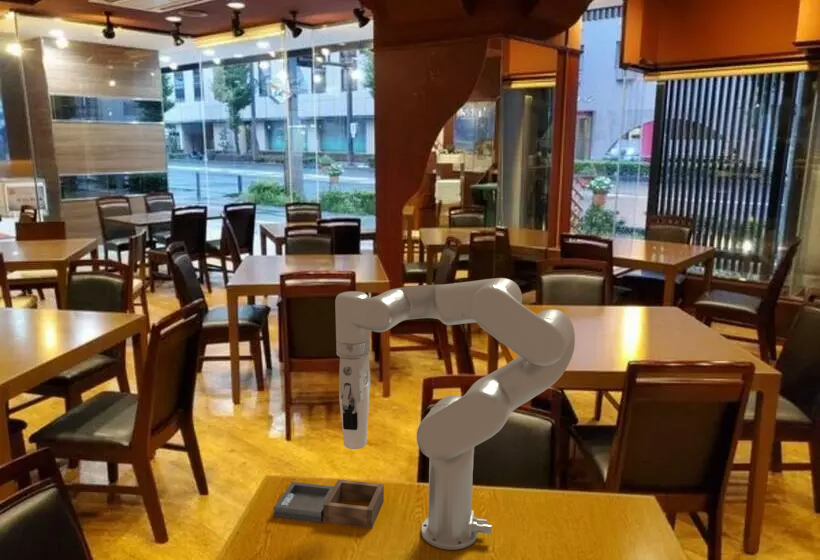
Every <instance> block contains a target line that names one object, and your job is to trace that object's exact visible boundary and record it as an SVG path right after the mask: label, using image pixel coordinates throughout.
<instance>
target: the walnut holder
mask: <svg viewBox="0 0 820 560" xmlns="http://www.w3.org/2000/svg"><path fill="white" fill-rule="evenodd" d="M384 490H385V486H384V484H382V483H376V482H375V483H373V482H365V481H355V480H348V479H347V480H345V479H338V480H337V481H336V482H335V484H334V488H333V489H332V491H331V493H330V494H329V496H328V498H327V499H326V501H325V503H324V505H323V511H324V518H323V524H332V525H339V524H340V525H341V526H347V525H349V526H350V527H355V528H356V527H358V528H366V529H373V528H374V525H375V523H376V520H377V518H378V516H379V513H380V511H381V509H382V507H383V505H384V502H385V501H384V500H385V497H384V495H385V494H384V493H385V491H384ZM342 499H343V500H345V501H351V502H352V500H353V502H362V503H369V505H368V506H364V505H356V504H355V505H353V504H349V503H348V504H345V503H341V502H342ZM349 526H348V527H349Z"/></svg>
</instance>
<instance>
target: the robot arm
mask: <svg viewBox="0 0 820 560" xmlns="http://www.w3.org/2000/svg"><path fill="white" fill-rule="evenodd" d="M334 301H335V302H334V306H335V307H334V309H335V310H334V311H335V339H336V340H335V343H336V344H335V345H336V348H335V349H336V355H337V357H339V366H338V367H339V370H338V371H339V375H338V376H339V377H338V380H339V381H338V385H339V386H338V388H339V389H338V394H339V393H340V399H341V400H342V407H343V428H342V430H343V429H347V430H357V428H358V421H357V412H356V404H357V403H356V402H357V401H358V402H360V401H361V400H362V399H363V398H364V386H365V385H367V382H368V383H369V390H370V389H371V387H372V385H371V381H372V380H371V366H370V355H371V332H375V333H384V332H387V331H389V330H390V329H392V328H393V327H395V326H397V325H398V324H399V323H402V322H403V321H407V320H408V321H409V320H417V319H418V320H419V319H437V320H439V321H440V322H441V323H442V324H444V325H446V326H454V325H462V324H472V323H474V324H475V323H476V324H477V325H478V326H479V327H480V328H481V329H483V330H484V331H485V332H486V333H488V334H489V335H490V336H491V337H492V338H494V339H495V340H496V341H498V342H499V343H501V344H503V345H504V346H505V347H506V348H509V349H510V350H511V351H513V352H514V353H515V354H517V355H518V356H517V357H515V358H514V359H512V360H511V361H509V362H508V363H507V364H505V365H502V366H501V367H499V368H498V369H496V370H494V371H492V372H490V373H489V374H486V375H484V376H483V377H481V378H479V379H478V380H476V381H475V382H474V383H473V384H472V385H471V386H470V388H469V389H468V390H467V392H466V393H465V394H464V395H463V396H462V395H456V394H455V395H454V394H452V395H448V396H445V397H443V398H442V399H440V400H438V401H437V403H435V405H434V406H433V407H432V408H431V409H430V411H429V412H427V414H426V415H425V417H424V418H423V419H422V420H421V422H420V424H419V425H418V428H417V429H416V430H417V431H416V443H417V446H418V448H419V450H420V452H421V453H422V454H423V455H424V456H426V457H427V458H428V459H429V465H428V466H429V467H428V475H429V476H428V517H427V518H426V519H424V521H423V522H422V524H421V526H420V528H421V529H420V533H421V536H422V538H423V540H424V541H425V542H426V543H428V544H429V545H431V546H433V547H435V548H438V549H443V550H448V551H455V550H461V549H464V548H467V547H470V546H471V545H473V544H474V543H475V542H476V541H477V538H478V536H479V533H481V534H486V535H492V527H493V525H492V524H487V523H488V520H487V518H477V516H475V514H474V513H475V511H474V509H472V507H473V503H472V502H473V482H474V481H473V477H474V476H473V474H474V472H473V471H474V456H475V447H476V446H478V445H481V444H482V443H484V442H486V441H487V440H489V439H491V438H493V436H495V435H496V434H497V433H499V432H500V431H501V430H502V429H503V427H504V426H505V424H506V422H507V421H508V419H509V418H510V415H511V414H512V413H513V412H514V411H515V410H516V409H518V408H519V407H521V406H522V405H524V404H526V403H528V402H529V401H531V400H533V399H534V398H535V397H537V396H539V395H541V394H542V393H543V392H545V391H546V390H548V389H549V388H550V387H552V386H553V385H554V384H555V383H556V382H557V381H558V380H559V379H560V378H561V377H562V376H563V375H564V373H565V371H566V370H567V368H568V366H569V364H570V363H571V360H572V357H573V354H574V351H575V346H576V345H575V343H576V338H575V336H576V335H575V329H574V325H573V322H572V320H571V319H570V317H569V316H568V315H567V314H566V313H564V312H563V311H561V310H558V309H546V310H541V311H540V312H538V313H535V312H533V310H531V309H529V308H528V307H526V306H525V305H524V304H523V294H522V291H521V289H520V286H519V285H518V284H517V283H516V282H515V281H513V280H511V279H509V278H506V277H496V278H485V279H479V280H471V281H464V282H463V281H462V282H454V283H446V284H425V285H424V284H423V285H413V286H403V287H397V288H392V289H389V290H387V291H386V290H385V291H384V292H382V293H380V294H378V295H376V296H372V297H369V295H368V294H366V292H363V291H355V290H354V291H353V290H351V291H350V290H349V291H344V292H340V293H338V294H337V295H336V297H335V300H334ZM342 395H343V396H342ZM350 395H353V398H354V399H350ZM349 402H353V407H352V406H351V405H349V404H350V403H349Z"/></svg>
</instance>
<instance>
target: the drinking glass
mask: <svg viewBox="0 0 820 560" xmlns="http://www.w3.org/2000/svg"><path fill="white" fill-rule="evenodd" d="M338 395H339V397H338V399H339V401H338V402H339V409H340V417H341V429H342V435H343V436H342V437H343V438H342V441H343V446H344V447H345V448H347V449H349V450H359V449H363V448H364V447H365V446H366V445H367V444H368V423H369V422H368V421H369V409H370V408H369V407H370V389H369V383H368V382H367V385H365V386H364V398H363V399H362V400H361V401H360V402H358V401H357V402H356V403H357V404H356V412H357V421H358V428H357V430H347V429H343V407H342V400H341V399H340V393H339V392H338ZM342 396H343V395H342ZM350 399H354V398H353V395H350ZM349 403H350V404H349V405H351V406H352V407H353V402H349Z"/></svg>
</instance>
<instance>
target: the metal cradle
mask: <svg viewBox="0 0 820 560" xmlns="http://www.w3.org/2000/svg"><path fill="white" fill-rule="evenodd" d="M334 486H335V485H334ZM334 486H333V485H332V486H331V485H324V484H323V485H322V484H315V483H304V482H296V481H292V482H291V483H290V484H289V486H288V487H287V488H286V490H285V491H284V493H283V494H282V495H281V496H280V498H279V499H278V500H277V502H276V503H275V505H274V506H273V518H277V519H283V520H284V519H286V520H291V521H292V520H293V521H300V522H301V521H302V522H308V521H309V522H311V523H318V524H322V522H323V521H324V511H323V505H324V503H325V501H326V499H327V498H328V496H329V494H330V493H331V491H332V489H333V488H334Z"/></svg>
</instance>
